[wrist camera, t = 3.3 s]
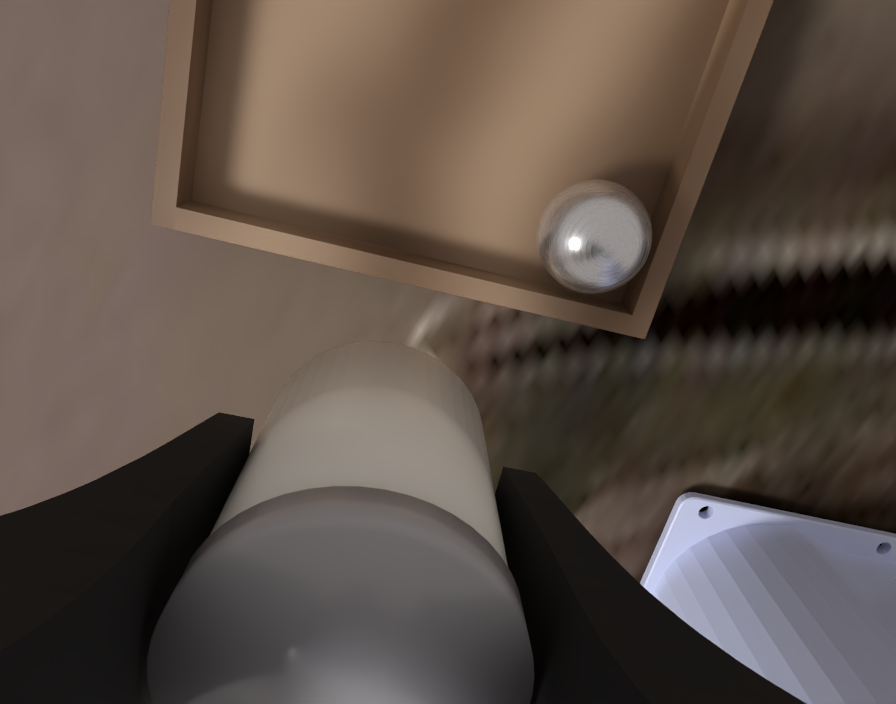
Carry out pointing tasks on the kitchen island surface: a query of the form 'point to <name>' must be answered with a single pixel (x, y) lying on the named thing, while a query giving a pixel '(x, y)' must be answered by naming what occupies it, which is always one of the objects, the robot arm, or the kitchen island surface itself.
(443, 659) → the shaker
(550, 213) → the steel ball
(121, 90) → the kitchen island surface
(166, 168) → the tray
